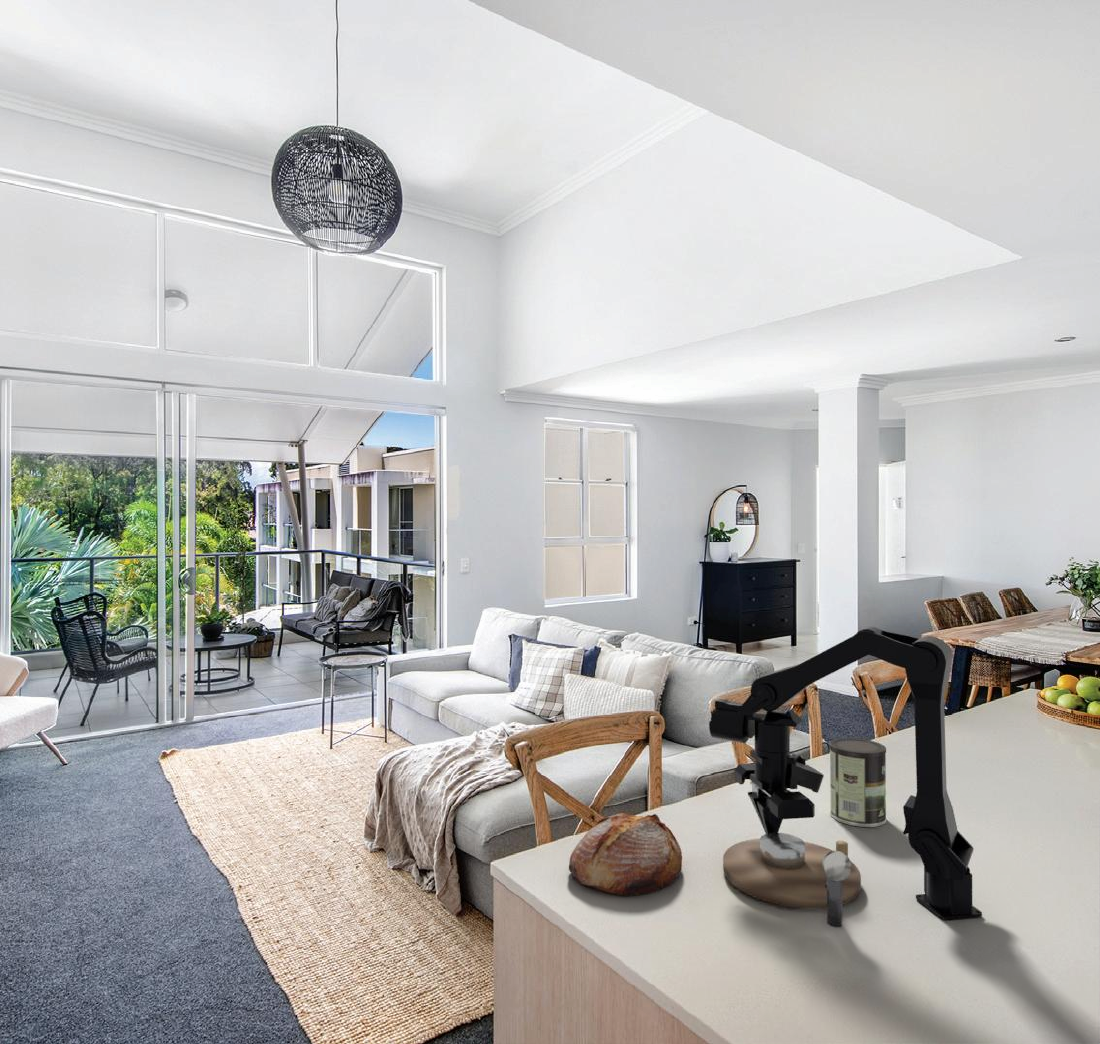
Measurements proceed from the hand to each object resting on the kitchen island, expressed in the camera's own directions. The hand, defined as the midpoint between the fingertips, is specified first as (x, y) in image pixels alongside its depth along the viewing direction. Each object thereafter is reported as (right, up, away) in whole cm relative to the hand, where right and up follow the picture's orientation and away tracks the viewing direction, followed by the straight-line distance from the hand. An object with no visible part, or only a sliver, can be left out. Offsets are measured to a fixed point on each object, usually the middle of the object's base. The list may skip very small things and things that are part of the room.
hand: (771, 839), depth 126 cm
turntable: (+1, -4, -7) cm, 8 cm away
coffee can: (+22, -4, +19) cm, 30 cm away
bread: (-25, -4, -4) cm, 26 cm away
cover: (0, -1, -5) cm, 5 cm away
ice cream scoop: (+3, -3, -20) cm, 20 cm away
